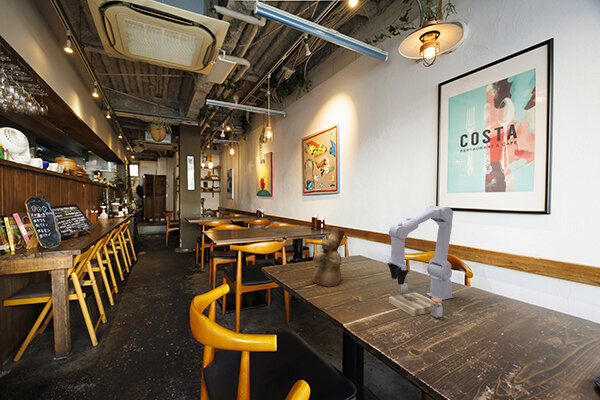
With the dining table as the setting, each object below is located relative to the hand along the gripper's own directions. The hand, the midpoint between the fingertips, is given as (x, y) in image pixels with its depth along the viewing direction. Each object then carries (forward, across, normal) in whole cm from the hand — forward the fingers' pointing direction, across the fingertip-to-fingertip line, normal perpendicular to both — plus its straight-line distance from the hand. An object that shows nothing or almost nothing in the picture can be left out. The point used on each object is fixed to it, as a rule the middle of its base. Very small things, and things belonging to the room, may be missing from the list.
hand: (397, 281), depth 115 cm
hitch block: (+10, +4, +6) cm, 12 cm away
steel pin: (+10, -9, +7) cm, 15 cm away
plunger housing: (+10, +14, +10) cm, 20 cm away
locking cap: (+7, +14, +10) cm, 19 cm away
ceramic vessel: (+10, -28, -27) cm, 40 cm away
